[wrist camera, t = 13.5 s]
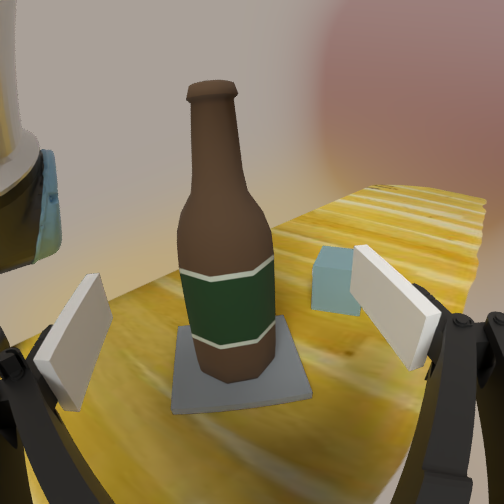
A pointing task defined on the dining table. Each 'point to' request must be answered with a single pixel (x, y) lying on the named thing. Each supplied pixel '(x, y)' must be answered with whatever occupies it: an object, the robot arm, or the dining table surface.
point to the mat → (239, 393)
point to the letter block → (334, 282)
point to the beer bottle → (225, 247)
